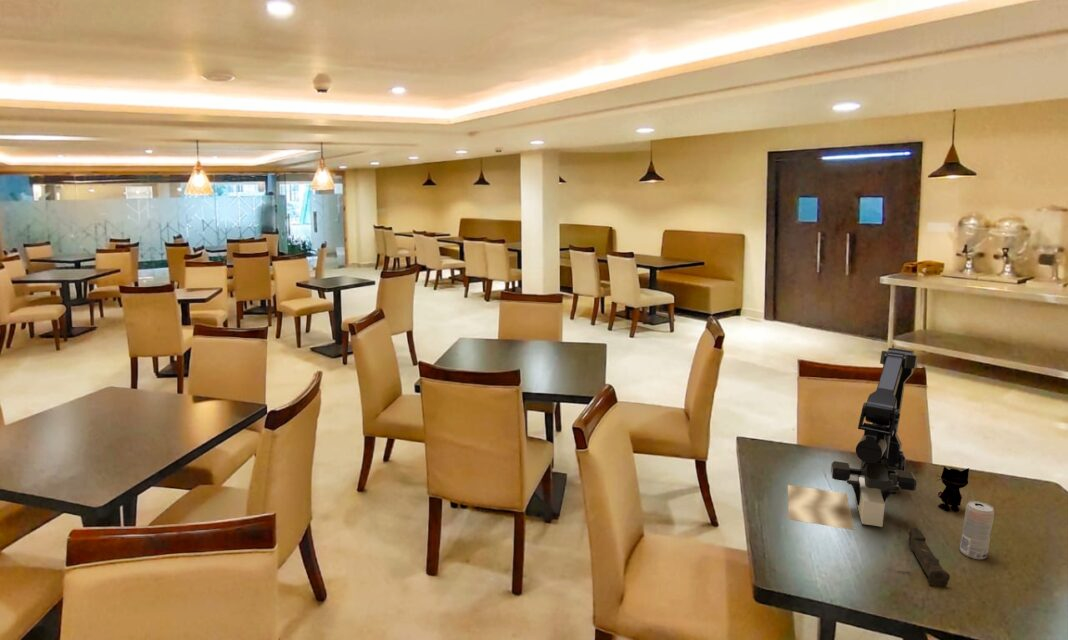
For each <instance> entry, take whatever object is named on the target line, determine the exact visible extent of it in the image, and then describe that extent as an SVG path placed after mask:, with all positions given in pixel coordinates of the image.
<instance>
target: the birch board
mask: <svg viewBox="0 0 1068 640" xmlns="http://www.w3.org/2000/svg"><path fill="white" fill-rule="evenodd" d="M787 503H788V509H787V510H788V520H792V521H797V522H803V523H809V524H816V525H821V526H828V527H834V528H838V529H847V530H852V531H855V527H854V521H853V517H852V516H853V515H852V511H851V508H850V502H849V497H848V494H847V493H844V492H839V491H830V490H825V489H818V488H812V487H811V488H810V487H804V486H798V485H792V484H791V485H790V484H787Z"/></svg>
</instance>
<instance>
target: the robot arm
mask: <svg viewBox="0 0 1068 640" xmlns="http://www.w3.org/2000/svg"><path fill="white" fill-rule="evenodd" d="M879 360H880V361H879V364H881V365H882V370H881V375H880V377H879V381H878V383H877V387H876V390H875V391H873V392H872V393H870V394H869V395H868V397H867V401H866V402H864V403H863V404H862V408H861V413H860V416H859V421H858V427H857V429H858V430H860V431H861V430H862V431H864V432H863V435H862V437H861V438H860V440H859V441H858V443H857V445H856V446H855V454H856V456H857V458H858V459H860V468H853V467H850V464H849V462H842V461H837V460H834V461H833V462H832V463H831V465H830V473H831V478H832V480H833V479H834V480H836V481H843V482H846V483H847V485H851V486H852V488H853V491H854V496H856V498H855V502H856V501H857V502H856V505H859V503H860V482H859V477H863V478H865V486H866V487H867V488H876V489H880V491H881V494H882V497H883V500H884V503H885V501H886V500H887V498H889V496H890V494H897V492H898V491H899V490H900V489H901V490H905V491H906V490H907V491H916V488H917V479H916V477H915V476H914V474H913V472H912V471H910V470H905V469H906V457H905V454H904V451H902V447H903V444H902V441H901V439H900V437H899V435H898V432H899V423H900V419H901V411H902V405H903V398H904V391H905V385H906V382H907V381H908V380H909V378H910V377H911V376H912V375H913V374H914V371H915V370H916V369H917V367H918V364H919V363H918V362H919V356H918V355H915V351H914V350H910V349H903V348H902V349H901V348H895V347H888V349H887V351H886V350H881V353H880V359H879ZM865 421H866V422H865Z"/></svg>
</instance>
